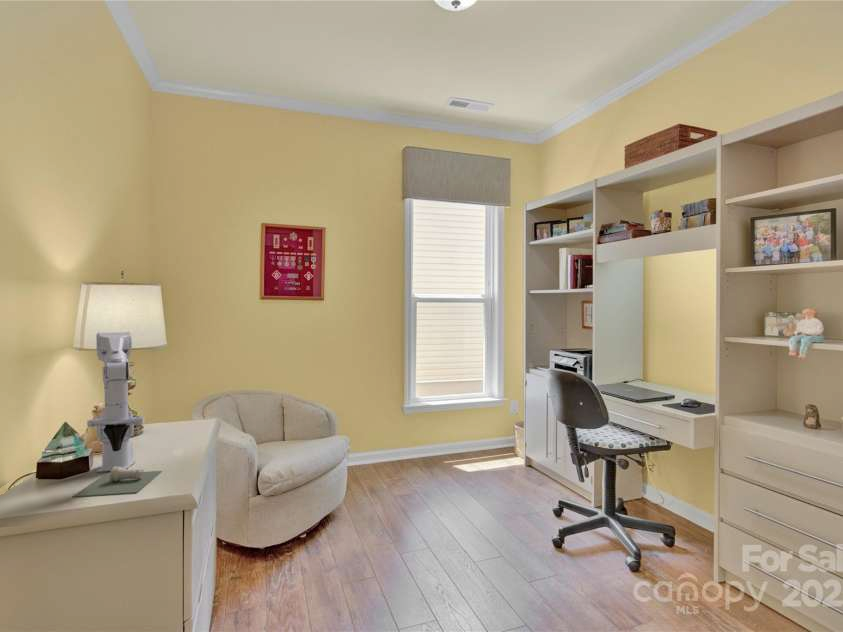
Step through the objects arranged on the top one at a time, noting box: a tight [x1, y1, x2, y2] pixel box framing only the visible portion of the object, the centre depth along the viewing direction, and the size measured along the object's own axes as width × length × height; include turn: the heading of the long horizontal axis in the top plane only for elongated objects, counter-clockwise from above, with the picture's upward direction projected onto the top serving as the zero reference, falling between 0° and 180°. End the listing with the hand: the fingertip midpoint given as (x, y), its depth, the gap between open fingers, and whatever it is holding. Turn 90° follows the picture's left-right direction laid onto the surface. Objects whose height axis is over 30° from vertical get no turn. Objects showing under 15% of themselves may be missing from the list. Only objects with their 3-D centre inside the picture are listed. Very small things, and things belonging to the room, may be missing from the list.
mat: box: [71, 470, 163, 498], centre depth 137 cm, size 18×16×1 cm
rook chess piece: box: [109, 466, 145, 482], centre depth 139 cm, size 4×4×8 cm
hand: (116, 450), depth 138 cm, fingers closed
